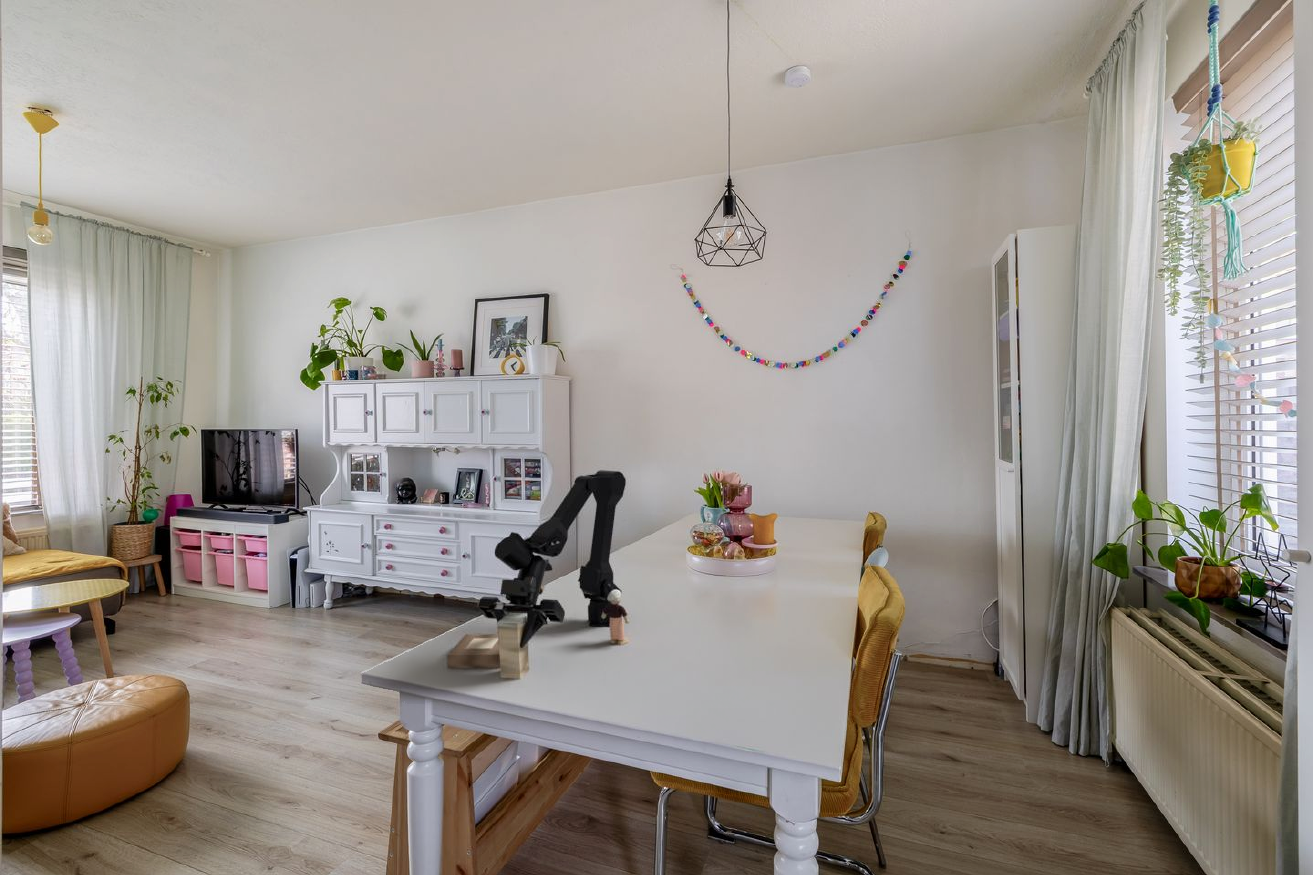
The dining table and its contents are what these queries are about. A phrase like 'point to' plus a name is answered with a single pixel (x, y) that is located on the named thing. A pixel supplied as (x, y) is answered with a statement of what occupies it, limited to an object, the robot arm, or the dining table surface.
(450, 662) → the plinth
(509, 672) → the oak column
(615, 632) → the grandmother figurine
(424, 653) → the dining table surface
